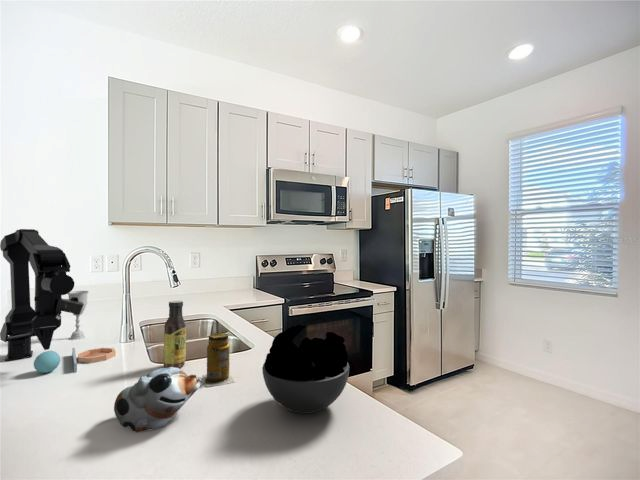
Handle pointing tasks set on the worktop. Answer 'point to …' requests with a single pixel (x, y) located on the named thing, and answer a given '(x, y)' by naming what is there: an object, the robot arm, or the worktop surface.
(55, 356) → the ball
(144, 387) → the lucky cat figurine
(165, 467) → the worktop surface
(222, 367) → the condiment
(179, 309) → the sauce bottle
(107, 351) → the saucer
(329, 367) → the coal bowl
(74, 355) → the low wall
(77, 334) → the chalice
